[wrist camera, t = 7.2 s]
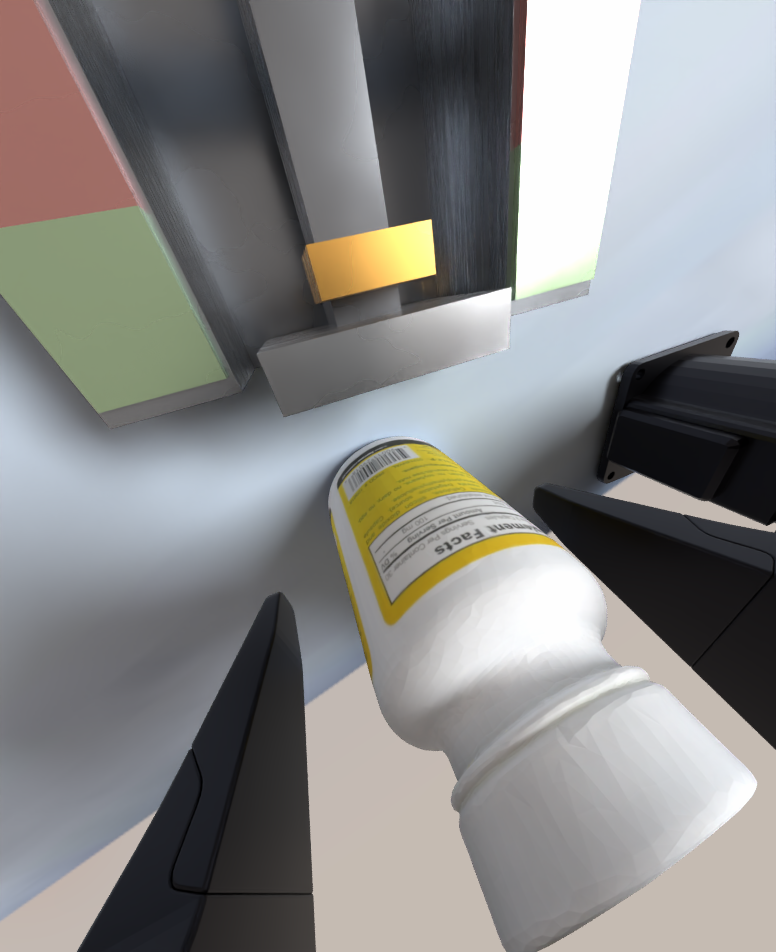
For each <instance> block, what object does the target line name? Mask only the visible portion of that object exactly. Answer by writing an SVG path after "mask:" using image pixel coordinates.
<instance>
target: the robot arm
mask: <svg viewBox="0 0 776 952" xmlns="http://www.w3.org/2000/svg"><path fill="white" fill-rule="evenodd" d="M738 337H739V332H738V331H722V332H719V333H716V334H713V335H710V336H707V337H704V338H701V339H698V340H695V341H693V342H690V343H687V344H684V345H681V346H678V347H675V348H672V349H669V350H666V351H663V352H660V353H658V354H655V355H652V356H649V357H646V358H643V359H640V360H637V361H634V362H632V363H631V364H630V365H629V366H628V367H627V368H626V369H625V371H624V373H623V376H622V379H621V383H620V387H619V391H618V395H617V399H616V403H615V407H614V411H613V415H612V419H611V423H610V426H609V430H608V434H607V438H606V442H605V446H604V450H603V454H602V458H601V462H600V466H599V470H598V474H597V479H598V480H600V481H602V482H604V483H606V484H607V483H610V482H613V481H615V480H617V479H620V478H622V477H624V476H627V475H629V474H631V473H634V472H636V473H638V474H640V475H643V476H645V477H647V478H650V479H652V480H654V481H657V482H659V483H661V484H663V485H666V486H668V487H670V488H672V489H675V490H677V491H679V492H682V493H684V494H687V495H689V496H691V497H693V498H696V499H698V500H701V501H709V502H712V503H714V504H716V505H719V506H721V507H724V508H726V509H728V510H731V511H733V512H736V513H738V514H740V515H742V516H745V517H747V518H749V519H752V520H754V521H756V522H759V523H761V524H763V525H766V526H768V525H770V524H772V523H776V360H768V359H756V358H744V357H732V356H731V354H732V352H733V349H734V347H735V345H736V343H737V340H738ZM533 508H534V510H535V511H536V513H537V514H538V515H539V516H540V517H541V519H542V520H543V521H544V522H545V523H546V524H547V526H548V527H549V528H550V529H551V530H552V531H553V533H554V534H555V535H556V536H557V537H558V538H559V540H560V541H561V542H562V543H563V544H564V545H565V546H566V547H567V548H568V549H569V550H570V551H571V552H572V553H573V554H574V555H575V556H576V557H577V558H578V559H579V560H580V561H581V562H582V563H583V564H584V565H585V566H586V567H587V568H589V569H590V571H592V572H593V573H594V574H595V575H596V576H597V577H598V578H599V579H600V580H601V581H602V582H603V583H604V584H605V585H606V586H607V587H608V588H609V589H610V590H611V591H612V592H613V593H614V594H615V595H617V596H618V598H619V599H621V600H622V601H623V602H624V603H625V604H626V605H627V606H628V607H629V608H630V609H631V610H632V611H633V612H634V613H635V614H636V615H637V616H638V617H639V618H640V619H641V620H642V621H643V622H644V623H645V624H646V625H648V627H650V628H651V629H652V630H653V631H654V632H655V633H656V634H657V635H658V636H659V637H660V638H661V639H662V640H663V641H664V642H665V643H666V644H667V645H668V646H669V647H670V648H671V649H672V650H673V651H674V652H675V653H676V654H678V656H680V657H681V658H682V659H683V660H684V661H685V662H686V663H687V664H688V665H689V666H690V667H691V668H692V669H693V670H694V671H695V672H696V673H697V674H698V675H699V676H700V677H701V678H702V679H703V680H704V681H705V682H706V683H707V684H708V685H709V686H710V687H711V688H712V689H713V690H714V691H716V693H718V694H719V695H720V696H721V697H722V698H723V699H724V700H725V701H726V702H727V703H728V704H729V705H730V706H731V707H732V708H733V709H734V710H735V711H736V712H737V713H738V714H739V715H740V716H741V717H742V718H743V719H745V721H747V722H748V723H749V724H750V725H751V726H752V727H753V728H754V729H755V730H756V731H757V732H758V733H759V734H760V735H761V736H762V737H763V738H764V739H765V740H766V741H767V742H768V743H769V744H770V745H771V746H772V747H773V748H774V749H776V531H775V532H774V533H773V532H767V531H761V530H756V529H751V528H746V527H741V526H736V525H730V524H725V523H721V522H716V521H711V520H707V519H702V518H698V517H693V516H689V515H682V514H680V513H676V512H671V511H667V510H662V509H658V508H654V507H649V506H645V505H640V504H636V503H632V502H627V501H623V500H618V499H614V498H609V497H605V496H601V495H597V494H592V493H588V492H583V491H579V490H575V489H570V488H566V487H561V486H557V485H553V484H543V485H540V486H538V487H536V488H535V490H534V499H533ZM304 710H305V709H304V687H303V668H302V659H301V652H300V646H299V640H298V634H297V627H296V621H295V615H294V610H293V608H292V606H291V604H290V603H289V602H288V600H287V599H286V597H285V596H284V594H283V593H282V592H277V593H275V594H273V595H270V596H268V597H267V598H266V599H265V601H264V603H263V605H262V607H261V609H260V611H259V613H258V615H257V617H256V619H255V621H254V623H253V625H252V627H251V629H250V631H249V633H248V635H247V637H246V639H245V641H244V643H243V645H242V647H241V649H240V651H239V653H238V655H237V656H236V658H235V660H234V662H233V664H232V666H231V668H230V670H229V672H228V674H227V676H226V678H225V680H224V682H223V684H222V686H221V688H220V690H219V692H218V694H217V696H216V698H215V700H214V702H213V704H212V706H211V708H210V710H209V712H208V714H207V716H206V718H205V720H204V722H203V724H202V726H201V728H200V730H199V732H198V734H197V736H196V738H195V740H194V741H193V743H192V749H190V750H189V751H188V753H187V755H186V757H185V759H184V761H183V763H182V765H181V767H180V769H179V771H178V773H177V775H176V777H175V779H174V780H173V782H172V784H171V786H170V788H169V790H168V792H167V794H166V796H165V798H164V799H163V801H162V803H161V805H160V807H159V809H158V811H157V813H156V814H155V816H154V818H153V820H152V821H151V824H150V825H149V827H148V829H147V830H146V832H145V834H144V836H143V838H142V839H141V841H140V843H139V845H138V847H137V848H136V850H135V852H134V854H133V855H132V857H131V859H130V860H129V863H128V864H127V866H126V867H125V869H124V871H123V873H122V875H121V876H120V878H119V880H118V881H117V883H116V885H115V887H114V888H113V890H112V892H111V894H110V895H109V897H108V899H107V900H106V902H105V904H104V906H103V907H102V909H101V911H100V912H99V914H98V916H97V918H96V919H95V921H94V923H93V925H92V926H91V928H90V930H89V932H88V933H87V935H86V937H85V939H84V940H83V942H82V944H81V945H80V947H79V949H78V951H77V952H316V945H315V923H314V902H313V894H312V892H313V883H312V862H311V841H310V819H309V796H308V774H307V753H306V733H305V732H306V731H305V711H304Z"/></svg>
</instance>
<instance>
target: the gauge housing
mask: <svg viewBox="0 0 776 952" xmlns="http://www.w3.org/2000/svg"><path fill="white" fill-rule="evenodd" d="M354 4H355V11H356V17H357V24H358V30H359V37H360V43H361V50H362V57H363V63H364V70H365V76H366V83H367V89H368V96H369V102H370V109H371V115H372V122H373V128H374V135H375V142H376V148H377V155H378V161H379V168H380V174H381V181H382V187H383V194H384V200H385V207H386V213H387V220H388V226H389V228H391V227H396V226H401V225H406V224H411V223H416V222H421V221H426V220H431V223H432V234H433V246H434V257H435V268H436V274H434V275H430V276H427V277H424V278H420V279H417V280H414V281H410V282H406V283H402V284H398V292H399V298H400V305H401V306H402V305H406V304H410V303H414V302H418V301H422V300H426V299H431V298H439V297H446V296H453V295H460V294H467V293H474V292H481V291H488V290H495V289H502V288H510V287H512V288H511V316H514V315H517V314H521V313H524V312H528V311H531V310H535V309H538V308H542V307H545V306H549V305H553V304H556V303H560V302H563V301H567V300H570V299H574V298H577V297H581V296H584V295H588V293H589V286H590V280H591V279H594V275H595V269H596V263H597V257H598V251H599V245H600V239H601V233H602V227H603V221H604V215H605V209H606V203H607V197H608V191H609V185H610V179H611V173H612V167H613V161H614V155H615V149H616V143H617V137H618V131H619V125H620V119H621V114H622V108H623V102H624V96H625V90H626V84H627V78H628V72H629V66H630V60H631V54H632V48H633V42H634V36H635V30H636V24H637V18H638V12H639V6H640V0H354ZM305 246H306V243H305V239H304V236H303V232H302V229H301V225H300V222H299V218H298V215H297V211H296V208H295V204H294V201H293V197H292V194H291V190H290V187H289V183H288V180H287V176H286V173H285V169H284V165H283V162H282V158H281V155H280V151H279V148H278V144H277V141H276V137H275V134H274V130H273V127H272V123H271V120H270V116H269V113H268V109H267V106H266V102H265V99H264V95H263V92H262V88H261V85H260V81H259V78H258V74H257V71H256V67H255V63H254V60H253V56H252V53H251V49H250V46H249V42H248V39H247V35H246V32H245V28H244V25H243V21H242V18H241V14H240V11H239V7H238V4H237V0H0V295H1V296H2V297H3V298H4V300H5V301H6V302H7V303H8V305H9V306H10V307H11V308H12V309H13V311H14V312H15V313H16V314H17V316H18V317H19V318H20V319H21V320H22V322H23V323H24V324H25V325H26V327H27V328H28V329H29V330H30V331H31V333H32V334H33V335H34V336H35V338H36V339H37V340H38V341H39V342H40V344H41V345H42V346H43V347H44V349H45V350H46V351H47V352H48V353H49V355H50V356H51V357H52V358H53V360H54V361H55V362H56V363H57V364H58V366H59V367H60V368H61V369H62V371H63V372H64V373H65V374H66V375H67V377H68V378H69V379H70V380H71V382H72V383H73V384H74V385H75V386H76V388H77V389H78V390H79V391H80V393H81V394H82V395H83V396H84V397H85V399H86V400H87V401H88V402H89V404H90V405H91V406H92V407H93V408H94V410H95V411H96V412H97V413H98V415H99V416H100V417H101V418H102V419H103V421H104V422H105V423H106V424H107V426H108V427H109V428H110V429H113V428H117V427H120V426H124V425H127V424H131V423H134V422H138V421H141V420H145V419H148V418H152V417H156V416H159V415H163V414H166V413H170V412H173V411H177V410H180V409H184V408H187V407H191V406H195V405H198V404H202V403H205V402H209V401H212V400H216V399H219V398H223V397H226V396H230V395H234V394H237V393H241V392H242V391H243V390H244V388H245V386H246V384H247V382H248V381H249V379H250V377H251V375H252V374H253V372H254V370H255V368H258V367H262V366H261V363H260V361H259V359H258V356H257V353H258V351H259V350H260V349H261V347H262V346H263V345H264V343H265V342H266V341H267V340H269V339H273V338H277V337H281V336H285V335H289V334H292V333H296V332H300V331H304V330H308V329H312V328H316V327H320V326H324V325H328V320H327V317H326V313H325V310H324V306H323V303H319V304H315V302H314V299H313V296H312V292H311V289H310V285H309V282H308V279H307V275H306V272H305V269H304V265H303V262H302V256H303V253H304V249H305Z"/></svg>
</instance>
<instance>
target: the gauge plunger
mask: <svg viewBox="0 0 776 952" xmlns="http://www.w3.org/2000/svg"><path fill="white" fill-rule="evenodd" d="M237 4H238V7H239V11H240V14H241V18H242V21H243V25H244V28H245V32H246V35H247V39H248V42H249V46H250V49H251V53H252V56H253V60H254V63H255V67H256V71H257V74H258V78H259V81H260V85H261V88H262V92H263V95H264V99H265V102H266V106H267V109H268V113H269V116H270V120H271V123H272V127H273V130H274V134H275V137H276V141H277V144H278V148H279V151H280V155H281V158H282V162H283V165H284V169H285V173H286V176H287V180H288V183H289V187H290V190H291V194H292V197H293V201H294V204H295V208H296V211H297V215H298V218H299V222H300V225H301V229H302V232H303V236H304V239H305V243H306V246H305V249H304V253H303V256H302V262H303V265H304V269H305V272H306V275H307V279H308V282H309V285H310V289H311V292H312V296H313V299H314V302H315V304H319V303H323V306H324V310H325V313H326V317H327V320H328V325H324V326H320V327H316V328H312V329H308V330H304V331H300V332H296V333H292V334H289V335H285V336H281V337H277V338H273V339H269V340H267V341H266V342H265V343H264V345H263V346H262V347H261V349H260V350H259V351H258V353H257V356H258V359H259V361H260V363H261V366H262V368H263V370H264V373H265V375H266V377H267V380H268V382H269V384H270V386H271V389H272V391H273V393H274V396H275V398H276V400H277V403H278V405H279V407H280V409H281V412H282V414H283V416H284V417H287V416H290V415H293V414H296V413H300V412H303V411H306V410H310V409H313V408H316V407H319V406H323V405H326V404H329V403H333V402H336V401H339V400H342V399H346V398H349V397H352V396H356V395H359V394H362V393H365V392H369V391H372V390H375V389H379V388H382V387H385V386H388V385H392V384H395V383H398V382H402V381H405V380H408V379H411V378H415V377H418V376H421V375H425V374H428V373H431V372H434V371H438V370H441V369H444V368H448V367H451V366H454V365H457V364H461V363H464V362H467V361H471V360H474V359H477V358H480V357H484V356H487V355H490V354H494V353H497V352H500V351H503V350H507V349H509V346H510V317H511V288H512V287H510V288H502V289H495V290H488V291H481V292H474V293H467V294H460V295H453V296H446V297H439V298H431V299H426V300H422V301H418V302H414V303H410V304H406V305H402V306H401V305H400V298H399V292H398V284H402V283H406V282H410V281H414V280H417V279H420V278H424V277H427V276H430V275H434V274H436V268H435V257H434V246H433V234H432V223H431V220H426V221H421V222H416V223H411V224H406V225H401V226H396V227H391V228H389V226H388V220H387V213H386V207H385V200H384V194H383V187H382V181H381V174H380V168H379V161H378V155H377V148H376V142H375V135H374V128H373V122H372V115H371V109H370V102H369V96H368V89H367V83H366V76H365V70H364V63H363V57H362V50H361V43H360V37H359V30H358V24H357V17H356V11H355V4H354V0H237Z"/></svg>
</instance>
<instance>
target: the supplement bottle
mask: <svg viewBox="0 0 776 952" xmlns="http://www.w3.org/2000/svg"><path fill="white" fill-rule="evenodd" d="M328 510H329V516H330V521H331V525H332V530H333V534H334V538H335V542H336V545H337V549H338V553H339V557H340V561H341V564H342V569H343V573H344V576H345V580H346V584H347V588H348V592H349V595H350V599H351V603H352V607H353V611H354V615H355V619H356V622H357V626H358V630H359V634H360V638H361V642H362V646H363V650H364V654H365V658H366V661H367V665H368V669H369V673H370V676H371V680H372V684H373V687H374V690H375V693H376V697H377V700H378V703H379V706H380V709H381V712H382V714H383V716H384V718H385V720H386V722H387V723H388V725H389V726H390V727H391V729H392V730H393V731H394V732H395V733H396V734H397V735H398V736H399V737H400V738H401V739H402V740H404V741H405V742H407V743H409V744H411V745H413V746H415V747H417V748H420V749H423V750H431V751H443V752H444V753H445V754H446V755H447V757H448V759H449V761H450V763H451V766H452V768H453V771H454V773H455V776H456V778H457V780H458V782H457V783H456V785H455V787H454V789H453V792H452V796H451V803H452V806H453V808H454V810H456V811H457V812H459V814H460V819H459V820H460V821H459V828H460V832H461V835H462V838H463V840H464V843H465V845H466V848H467V850H468V853H469V855H470V858H471V861H472V864H473V867H474V870H475V873H476V875H477V878H478V881H479V883H480V886H481V889H482V891H483V894H484V897H485V900H486V902H487V905H488V908H489V910H490V913H491V916H492V919H493V921H494V924H495V927H496V930H497V933H498V935H499V938H500V940H501V943H502V945H503V947H504V948H505V950H506V952H537V951H539V950H541V949H543V948H545V947H547V946H550V945H551V944H553V943H555V942H557V941H558V940H560V939H562V938H564V937H565V936H567V935H569V934H571V933H572V932H574V931H575V930H577V929H579V928H581V927H582V926H584V925H585V924H587V923H588V922H590V921H592V920H593V919H595V918H596V917H598V916H600V915H601V914H603V913H604V912H606V911H607V910H609V909H611V908H612V907H614V906H615V905H617V904H618V903H620V902H621V901H623V900H624V899H626V898H628V897H629V896H631V895H632V894H634V893H635V892H637V891H638V890H640V889H641V888H643V887H645V886H646V885H647V884H649V883H650V882H651V881H653V880H654V879H656V878H657V877H658V876H660V875H661V874H662V873H664V872H665V871H666V870H668V869H669V868H670V867H671V866H673V865H674V864H675V863H677V862H678V861H679V860H681V859H682V858H683V857H684V856H686V855H687V854H688V853H690V852H691V851H692V850H693V849H695V848H696V847H697V846H698V845H700V844H701V843H702V842H703V841H704V840H706V839H707V838H708V837H709V836H711V835H712V834H713V833H714V832H715V831H717V830H718V829H719V828H720V827H721V826H722V825H723V824H724V823H726V822H727V821H728V820H729V819H730V818H732V817H733V816H734V815H735V814H736V813H737V812H738V811H739V810H741V808H742V807H743V806H744V805H745V804H746V803H747V801H748V800H749V799H750V798H751V797H752V796H753V794H754V791H755V789H756V787H757V781H756V779H755V777H754V776H753V774H752V773H751V772H750V771H749V770H748V769H747V767H745V765H744V764H743V763H741V762H740V761H739V760H738V759H737V758H736V757H735V756H734V755H733V754H732V753H731V752H730V751H729V750H728V749H727V748H726V747H725V746H724V745H723V744H722V743H721V742H720V741H719V740H718V739H717V738H716V737H715V736H714V735H713V734H712V733H710V731H709V730H708V729H707V728H705V726H703V724H702V723H701V722H700V721H698V719H697V718H696V717H695V716H693V715H692V714H691V713H690V712H689V711H688V710H687V709H686V708H685V707H684V706H683V705H682V704H681V703H680V701H678V700H677V698H676V697H675V696H673V695H672V693H671V692H670V691H669V690H668V689H666V688H665V687H664V686H663V685H661V684H658V683H655V682H651V681H650V679H649V675H648V674H647V672H646V671H645V670H644V669H642V668H641V667H638V666H625V667H622V666H621V665H620V664H618V663H617V662H616V661H615V660H614V659H613V658H612V657H611V656H610V655H609V654H608V653H607V651H606V650H605V648H604V647H603V645H602V643H601V641H602V639H603V637H604V634H605V630H606V627H607V604H606V601H605V597H604V594H603V592H602V589H601V587H600V586H599V584H598V582H597V580H596V579H595V578H594V577H593V575H592V574H591V573H590V572H589V571H588V570H587V568H585V567H584V566H583V565H582V564H581V563H580V562H579V561H577V560H576V559H575V558H574V557H573V556H572V555H570V554H569V553H568V552H567V551H566V550H565V549H564V548H562V547H561V546H560V545H559V544H557V543H556V542H555V541H554V540H553V539H551V538H550V537H549V536H548V535H546V534H545V533H543V532H542V531H541V530H540V529H539V528H537V527H536V526H535V525H533V524H532V523H531V522H529V521H528V520H527V519H526V518H525V517H523V516H522V515H521V514H520V513H518V512H517V511H516V510H515V509H513V508H512V507H511V506H510V505H508V504H507V503H506V502H505V501H503V500H502V499H501V498H500V497H498V496H497V495H496V494H495V493H493V492H492V491H491V490H489V489H488V488H487V487H486V486H484V485H483V484H482V483H481V482H479V481H478V480H477V479H476V478H474V477H473V476H472V475H471V474H469V473H468V472H467V471H466V470H464V469H463V468H462V467H461V466H459V465H458V464H457V463H455V462H454V461H453V460H452V459H450V458H449V457H448V456H447V455H445V454H444V453H442V452H441V451H440V450H439V449H437V448H436V447H434V446H433V445H431V444H429V443H427V442H425V441H423V440H420V439H417V438H412V437H405V436H396V437H389V438H384V439H381V440H377V441H375V442H372V443H370V444H368V445H366V446H364V447H363V448H361V449H360V450H358V451H357V452H355V453H354V454H353V455H352V456H351V457H350V458H349V459H347V461H346V462H345V463H344V464H343V465H342V467H341V468H340V469H339V471H338V473H337V474H336V476H335V478H334V480H333V483H332V485H331V488H330V493H329V498H328Z"/></svg>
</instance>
